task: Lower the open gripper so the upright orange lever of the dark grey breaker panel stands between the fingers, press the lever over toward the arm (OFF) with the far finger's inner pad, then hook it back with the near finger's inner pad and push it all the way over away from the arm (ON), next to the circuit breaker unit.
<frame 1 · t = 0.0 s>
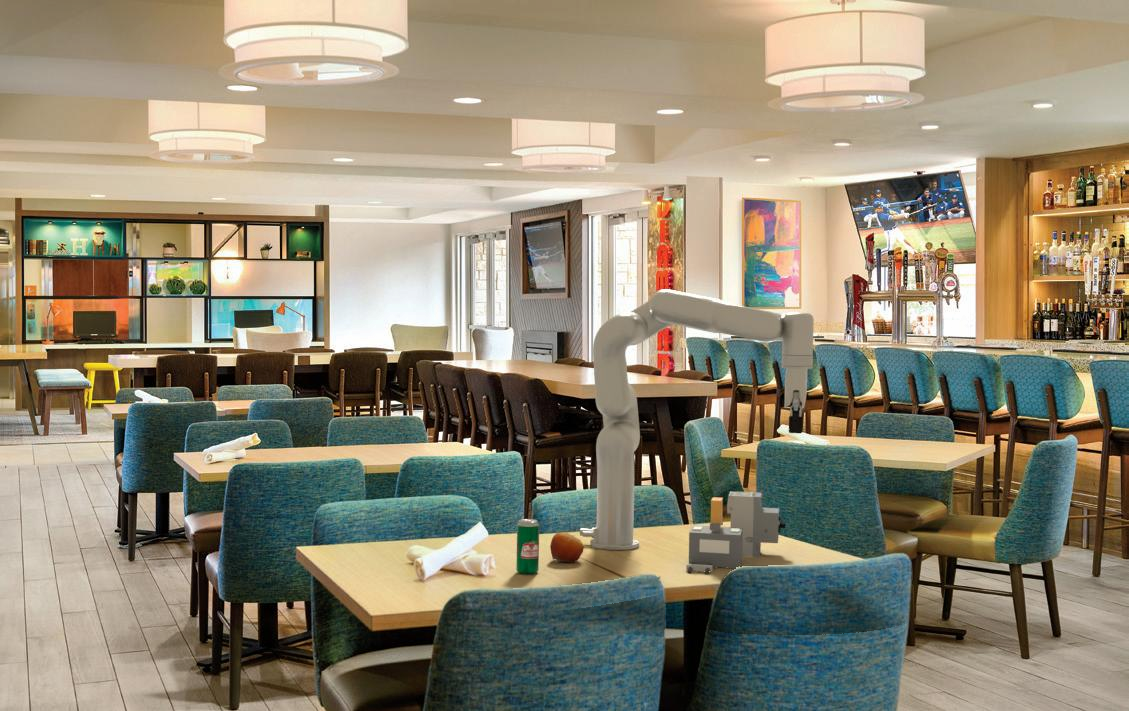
hand: (795, 431, 291), 31 cm above the table, fingers open, 9 cm apart
panel: (715, 563, 282), on the table
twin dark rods: (699, 570, 274), on the table
lever: (716, 513, 281), point 12 cm above the table, hinge at 0.0°
fruit: (566, 562, 281), on the table
circuit breaker: (755, 555, 294), on the table
soda can: (527, 573, 268), on the table
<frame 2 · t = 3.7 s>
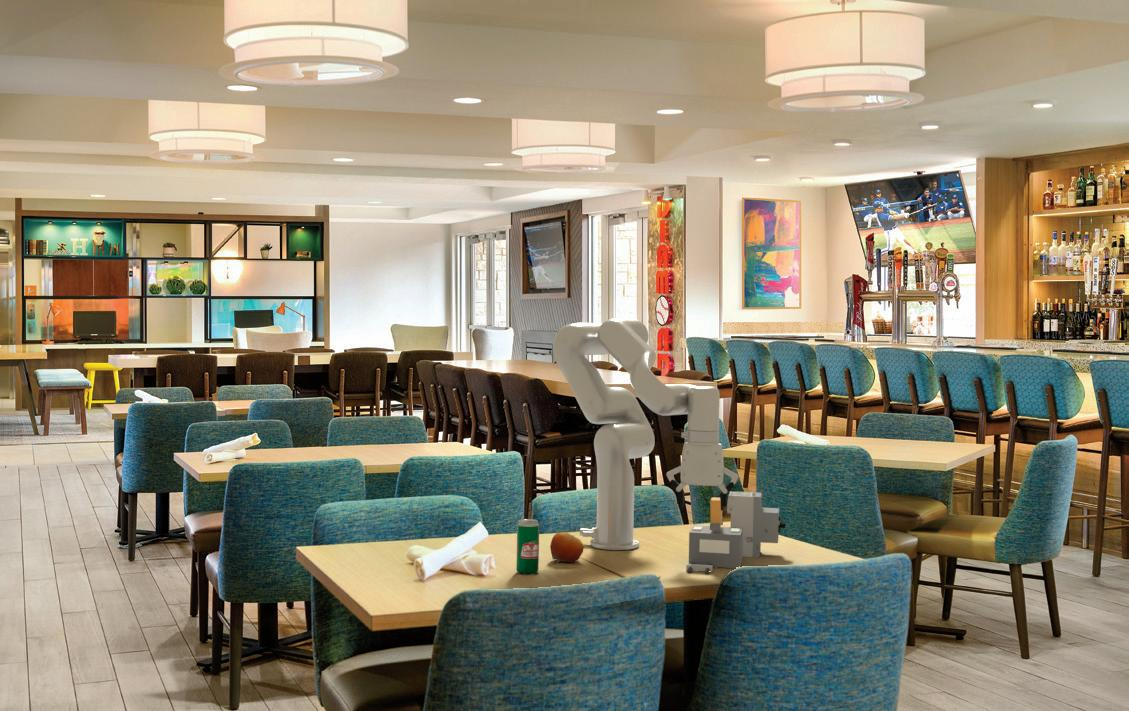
hand: (701, 508, 282), 13 cm above the table, fingers open, 9 cm apart
lever: (716, 513, 281), point 12 cm above the table, hinge at -1.8°, touching gripper
everything else where it was.
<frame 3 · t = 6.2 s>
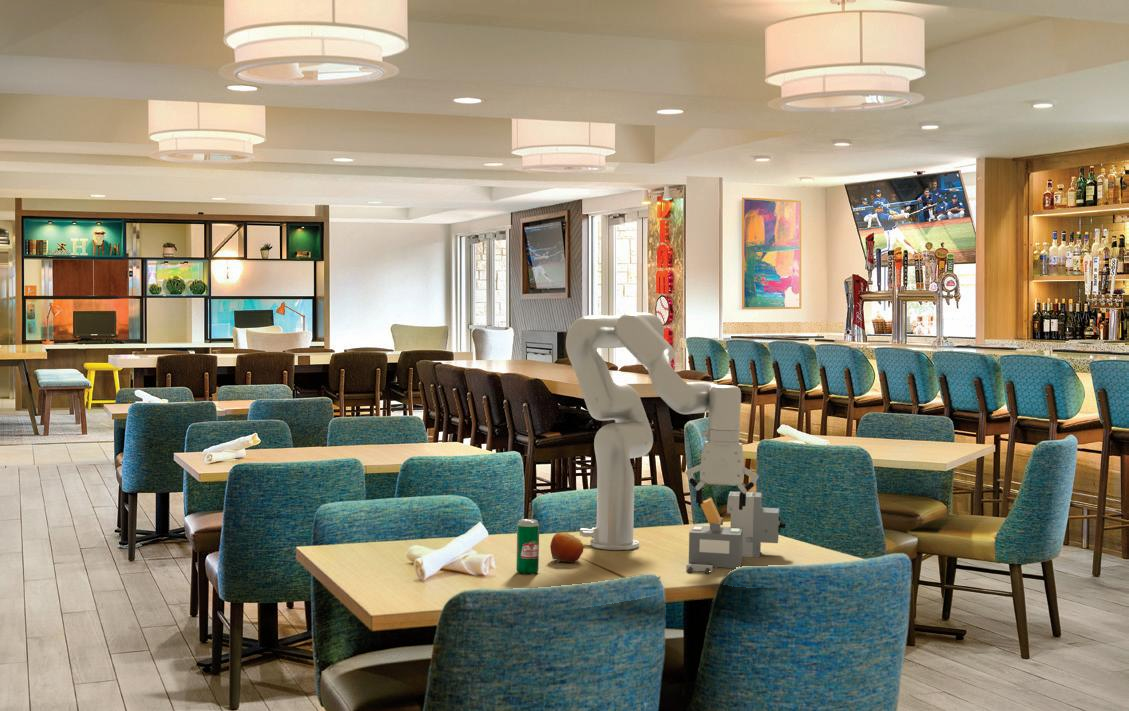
hand: (720, 507, 281), 13 cm above the table, fingers open, 9 cm apart
lever: (711, 513, 282), point 12 cm above the table, hinge at -26.0°, touching gripper
everything else where it was.
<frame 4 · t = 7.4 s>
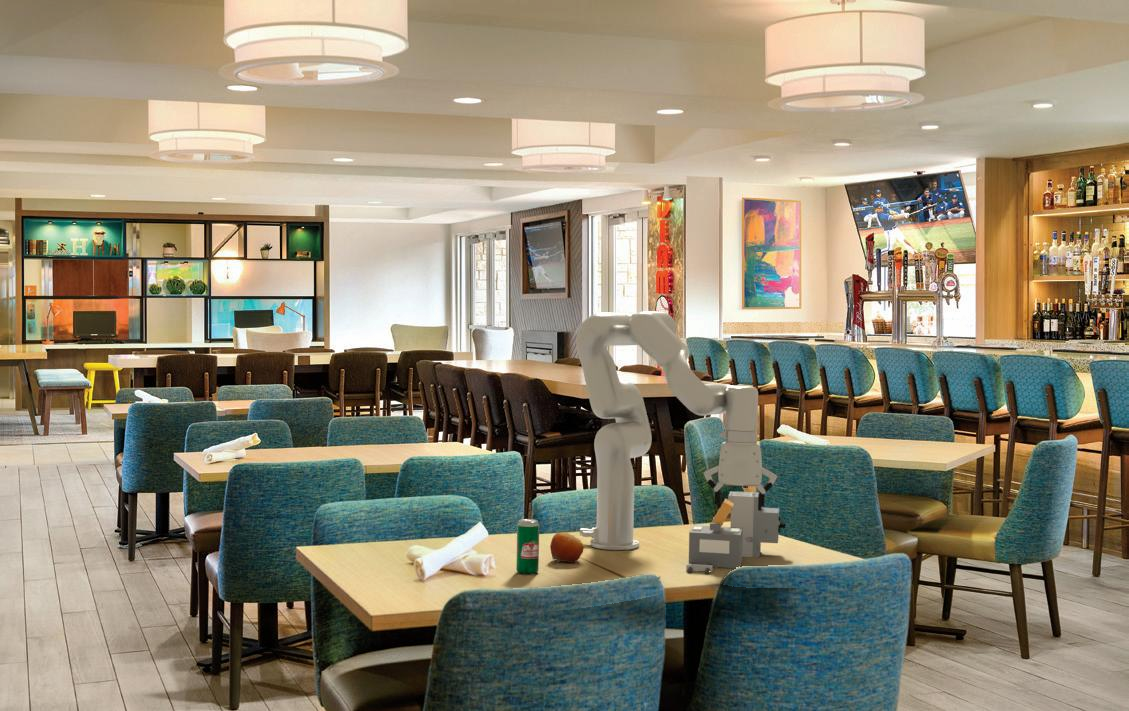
hand: (739, 508, 280), 13 cm above the table, fingers open, 9 cm apart
lever: (721, 514, 281), point 12 cm above the table, hinge at 28.8°, touching gripper
everything else where it was.
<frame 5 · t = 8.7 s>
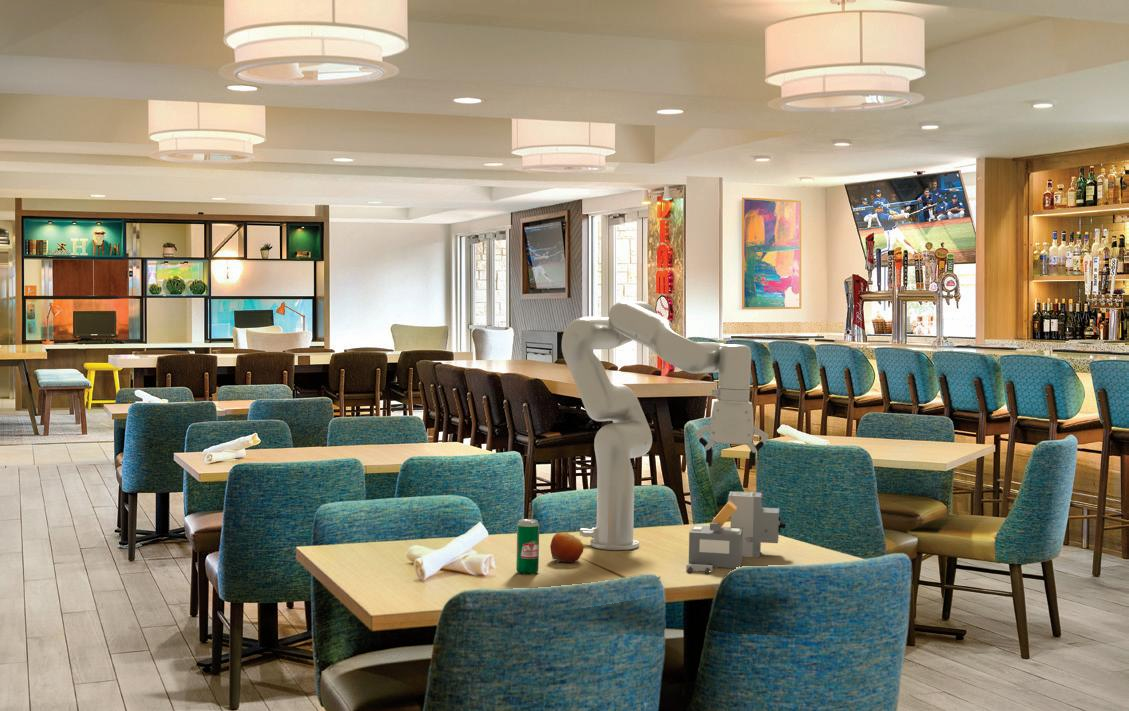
hand: (730, 467, 281), 23 cm above the table, fingers open, 9 cm apart
lever: (723, 515, 281), point 12 cm above the table, hinge at 38.5°
everything else where it was.
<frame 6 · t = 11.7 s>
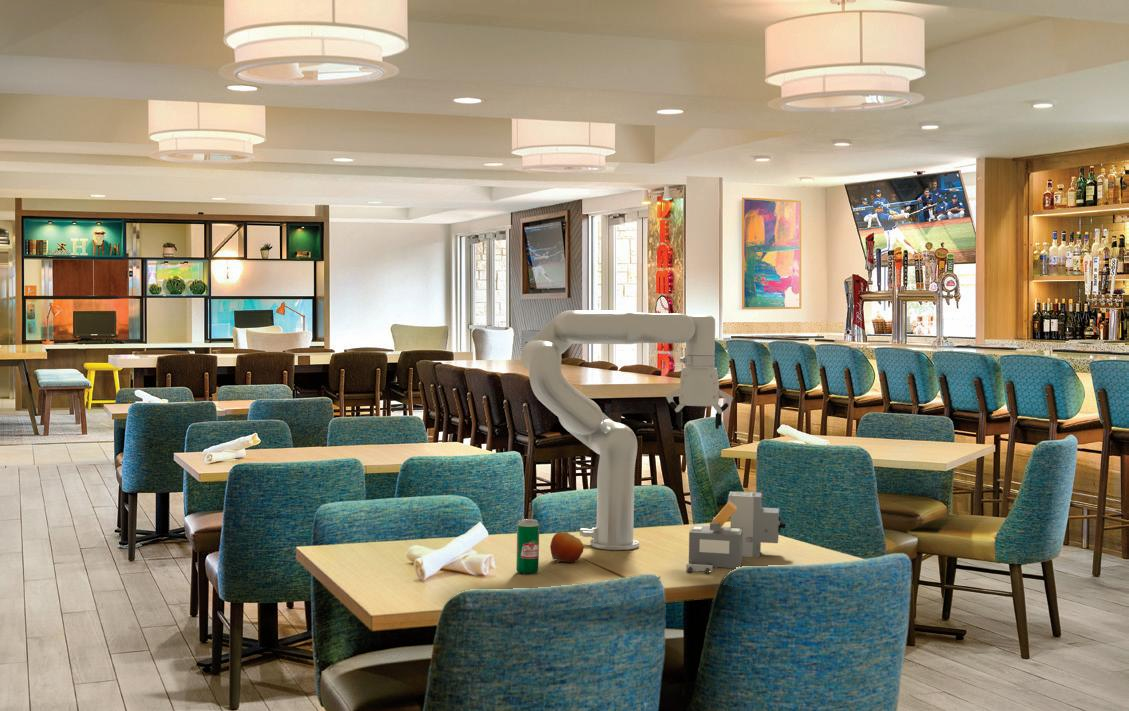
hand: (698, 427, 306), 30 cm above the table, fingers open, 9 cm apart
lever: (723, 515, 281), point 12 cm above the table, hinge at 39.0°
everything else where it was.
at the end: lever at +39° (first picture: +0°); the gripper is holding nothing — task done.
